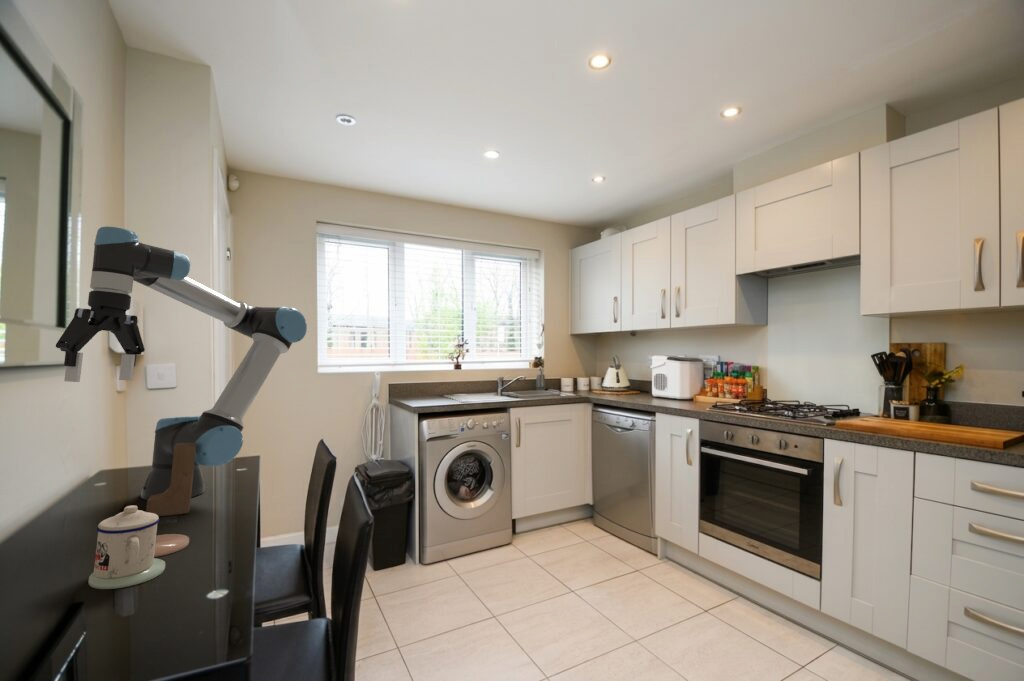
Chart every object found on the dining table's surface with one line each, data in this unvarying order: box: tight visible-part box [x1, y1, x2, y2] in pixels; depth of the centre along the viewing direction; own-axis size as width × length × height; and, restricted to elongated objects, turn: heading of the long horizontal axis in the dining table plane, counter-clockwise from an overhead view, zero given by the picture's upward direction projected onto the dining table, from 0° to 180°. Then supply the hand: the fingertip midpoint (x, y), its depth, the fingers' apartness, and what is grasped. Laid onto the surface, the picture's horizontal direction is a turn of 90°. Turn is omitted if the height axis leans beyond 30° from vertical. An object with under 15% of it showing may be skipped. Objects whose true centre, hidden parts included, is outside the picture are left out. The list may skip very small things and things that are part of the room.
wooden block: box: [145, 442, 196, 517], centre depth 117 cm, size 9×4×18 cm, turn 122°
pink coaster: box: [154, 533, 190, 558], centre depth 96 cm, size 11×11×1 cm
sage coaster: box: [88, 557, 166, 590], centre depth 84 cm, size 11×11×1 cm
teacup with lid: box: [93, 504, 160, 579], centre depth 84 cm, size 12×9×12 cm
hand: (100, 381), depth 105 cm, fingers open, 13 cm apart
